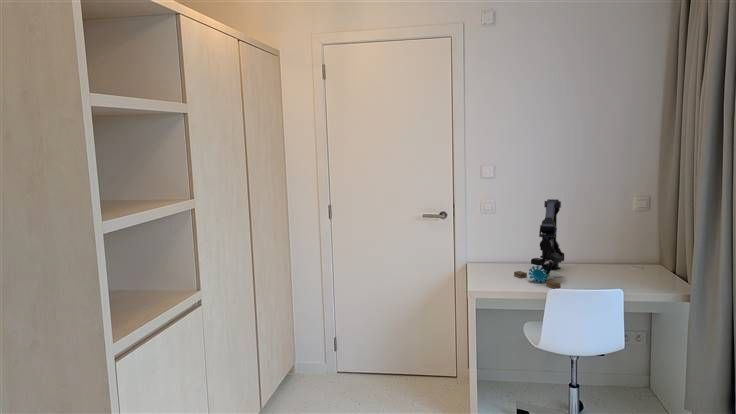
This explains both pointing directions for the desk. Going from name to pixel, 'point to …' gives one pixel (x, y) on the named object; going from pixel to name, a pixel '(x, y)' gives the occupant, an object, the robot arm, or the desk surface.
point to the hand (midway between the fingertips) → (547, 275)
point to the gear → (538, 274)
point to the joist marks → (549, 283)
